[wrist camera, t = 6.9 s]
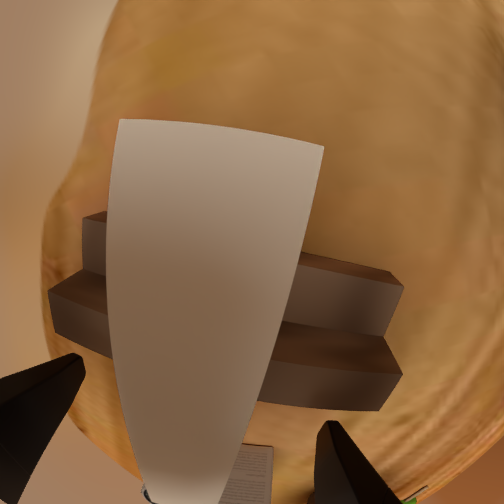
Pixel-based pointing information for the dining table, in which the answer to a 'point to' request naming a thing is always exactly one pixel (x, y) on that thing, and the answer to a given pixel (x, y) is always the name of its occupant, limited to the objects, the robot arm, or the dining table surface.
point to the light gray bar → (199, 288)
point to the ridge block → (290, 332)
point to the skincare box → (250, 477)
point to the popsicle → (411, 501)
